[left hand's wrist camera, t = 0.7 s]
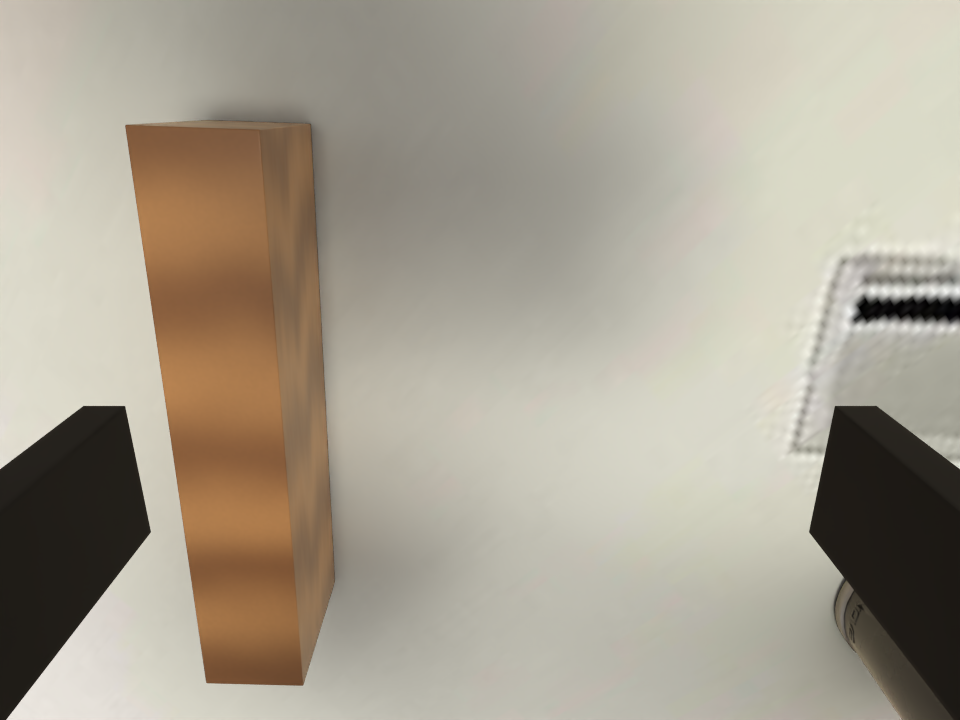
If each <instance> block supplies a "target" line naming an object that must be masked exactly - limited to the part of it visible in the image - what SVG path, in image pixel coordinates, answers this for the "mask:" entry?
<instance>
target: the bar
mask: <svg viewBox="0 0 960 720" xmlns="http://www.w3.org/2000/svg"><path fill="white" fill-rule="evenodd" d="M125 127H126V134H127V140H128V147H129V154H130V161H131V168H132V175H133V182H134V189H135V196H136V202H137V209H138V216H139V223H140V230H141V237H142V244H143V251H144V257H145V264H146V271H147V278H148V285H149V292H150V299H151V306H152V312H153V319H154V326H155V333H156V340H157V347H158V354H159V361H160V367H161V374H162V381H163V388H164V395H165V402H166V409H167V416H168V422H169V429H170V436H171V443H172V450H173V457H174V464H175V471H176V477H177V484H178V491H179V498H180V505H181V512H182V519H183V526H184V532H185V539H186V546H187V553H188V560H189V567H190V574H191V581H192V588H193V594H194V601H195V608H196V615H197V622H198V629H199V636H200V643H201V649H202V656H203V663H204V670H205V677H206V683H220V684H259V685H298V686H303V685H304V681H305V678H306V675H307V671H308V668H309V665H310V662H311V658H312V655H313V652H314V648H315V645H316V642H317V639H318V635H319V632H320V629H321V625H322V622H323V619H324V616H325V612H326V609H327V606H328V602H329V599H330V596H331V593H332V589H333V586H334V583H335V576H334V557H333V538H332V519H331V500H330V481H329V462H328V444H327V425H326V406H325V387H324V368H323V349H322V330H321V311H320V292H319V273H318V254H317V236H316V217H315V198H314V179H313V160H312V141H311V125H310V124H303V123H275V122H247V121H219V120H201V121H184V122H167V123H149V124H132V125H126V126H125Z"/></svg>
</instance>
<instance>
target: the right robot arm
mask: <svg viewBox="0 0 960 720" xmlns="http://www.w3.org/2000/svg"><path fill="white" fill-rule="evenodd" d="M835 616H836V622H837V625H838V628H839V630H840V632H841V634H842V635H843V637H844V638H845V640H846V641H847V643H848V644H849V645H850V647H851V648H852V649H853V650H854V651H855V652H856V653H857V654H858V656H859V657H860V659H861V660H862V661H863V663H864V664H865V666H866V667H867V669H868V670H869V672H870V673H871V675H872V676H873V678H874V679H875V681H876V682H877V684H878V685H879V687H880V688H881V690H882V691H883V693H884V694H885V696H886V697H887V698H888V700H889V701H890V703H891V704H892V706H893V707H894V709H895V710H896V712H897V713H898V714H899V716H900V717H901V719H902V720H954V719H953V718H952V717H951V715H950V714H949V713H948V711H947V710H946V709H945V707H944V706H943V705H942V704H941V702H940V701H939V700H938V698H937V697H936V696H935V695H934V693H933V692H932V691H931V689H930V688H929V687H928V685H927V684H926V683H925V682H924V680H923V679H922V678H921V676H920V675H919V674H918V673H917V671H916V670H915V669H914V667H913V666H912V665H911V663H910V662H909V661H908V660H907V658H906V657H905V656H904V654H903V653H902V652H901V650H900V649H899V648H898V647H897V645H896V644H895V643H894V641H893V640H892V639H891V638H890V636H889V635H888V634H887V632H886V631H885V630H884V628H883V627H882V626H881V625H880V623H879V622H878V621H877V619H876V618H875V617H874V615H873V614H872V613H871V612H870V610H869V609H868V608H867V606H866V605H865V604H864V603H863V601H862V600H861V599H860V597H859V596H858V595H857V593H856V592H855V591H854V590H853V588H852V587H851V586H850V584H849V583H848V582H847V580H846V581H845V583H844V584H843V586H842V588H841V590H840V592H839V595H838V598H837V602H836V608H835Z"/></svg>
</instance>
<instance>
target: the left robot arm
mask: <svg viewBox="0 0 960 720" xmlns="http://www.w3.org/2000/svg"><path fill="white" fill-rule="evenodd" d="M150 533H151V530H150V526H149V521H148V516H147V511H146V506H145V501H144V496H143V492H142V487H141V482H140V477H139V472H138V467H137V462H136V457H135V453H134V448H133V443H132V438H131V433H130V428H129V423H128V418H127V414H126V409H125V406H83V407H82V408H80V409H79V410H78V411H76V412H75V413H74V414H72V415H71V416H70V417H69V418H67V419H66V420H65V421H63V422H62V423H61V424H59V425H58V426H57V427H55V428H54V429H53V430H51V431H50V432H49V433H47V434H46V435H45V436H43V437H42V438H41V439H40V440H38V441H37V442H36V443H34V444H33V445H32V446H30V447H29V448H28V449H26V450H25V451H24V452H22V453H21V454H20V455H18V456H17V457H16V458H14V459H13V460H12V461H11V462H9V463H8V464H7V465H5V466H4V467H3V468H1V469H0V720H6V719H7V718H8V717H9V715H10V714H11V713H12V711H13V710H14V709H15V707H16V706H17V705H18V704H19V702H20V701H21V700H22V698H23V697H24V696H25V695H26V693H27V692H28V691H29V689H30V688H31V687H32V685H33V684H34V683H35V682H36V680H37V679H38V678H39V676H40V675H41V674H42V673H43V671H44V670H45V669H46V667H47V666H48V665H49V663H50V662H51V661H52V660H53V658H54V657H55V656H56V654H57V653H58V652H59V650H60V649H61V648H62V647H63V645H64V644H65V643H66V641H67V640H68V639H69V638H70V636H71V635H72V634H73V632H74V631H75V630H76V628H77V627H78V626H79V625H80V623H81V622H82V621H83V619H84V618H85V617H86V615H87V614H88V613H89V612H90V610H91V609H92V608H93V606H94V605H95V604H96V603H97V601H98V600H99V599H100V597H101V596H102V595H103V593H104V592H105V591H106V590H107V588H108V587H109V586H110V584H111V583H112V582H113V580H114V579H115V578H116V577H117V575H118V574H119V573H120V571H121V570H122V569H123V568H124V566H125V565H126V564H127V562H128V561H129V560H130V558H131V557H132V556H133V555H134V553H135V552H136V551H137V549H138V548H139V547H140V545H141V544H142V543H143V542H144V540H145V539H146V538H147V536H148V535H149V534H150ZM809 533H810V534H811V535H812V536H813V538H814V539H815V540H816V542H817V543H818V544H819V545H820V547H821V548H822V549H823V551H824V552H825V553H826V555H827V556H828V557H829V558H830V560H831V561H832V562H833V564H834V565H835V566H836V568H837V569H838V570H839V571H840V573H841V574H842V575H843V577H844V578H845V579H846V580H847V582H848V583H849V584H850V586H851V587H852V588H853V590H854V591H855V592H856V593H857V595H858V596H859V597H860V599H861V600H862V601H863V603H864V604H865V605H866V606H867V608H868V609H869V610H870V612H871V613H872V614H873V615H874V617H875V618H876V619H877V621H878V622H879V623H880V625H881V626H882V627H883V628H884V630H885V631H886V632H887V634H888V635H889V636H890V638H891V639H892V640H893V641H894V643H895V644H896V645H897V647H898V648H899V649H900V650H901V652H902V653H903V654H904V656H905V657H906V658H907V660H908V661H909V662H910V663H911V665H912V666H913V667H914V669H915V670H916V671H917V673H918V674H919V675H920V676H921V678H922V679H923V680H924V682H925V683H926V684H927V685H928V687H929V688H930V689H931V691H932V692H933V693H934V695H935V696H936V697H937V698H938V700H939V701H940V702H941V704H942V705H943V706H944V707H945V709H946V710H947V711H948V713H949V714H950V715H951V717H952V718H953V719H954V720H960V469H959V468H957V467H956V466H955V465H953V464H952V463H951V462H949V461H948V460H947V459H946V458H944V457H943V456H942V455H940V454H939V453H938V452H936V451H935V450H934V449H932V448H931V447H930V446H928V445H927V444H926V443H924V442H923V441H922V440H920V439H919V438H918V437H917V436H915V435H914V434H913V433H911V432H910V431H909V430H907V429H906V428H905V427H903V426H902V425H901V424H899V423H898V422H897V421H895V420H894V419H893V418H891V417H890V416H889V415H888V414H886V413H885V412H884V411H882V410H881V409H880V408H878V407H877V406H835V409H834V414H833V418H832V423H831V428H830V433H829V438H828V443H827V448H826V453H825V457H824V462H823V467H822V472H821V477H820V482H819V487H818V491H817V496H816V501H815V506H814V511H813V516H812V521H811V526H810V530H809Z"/></svg>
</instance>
